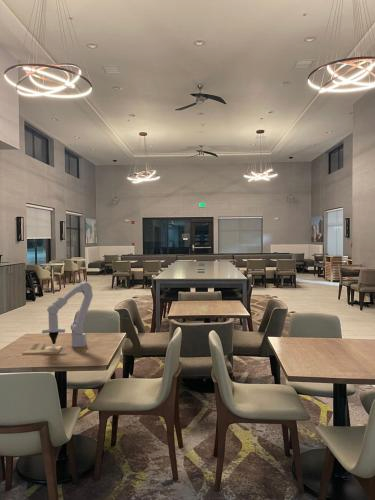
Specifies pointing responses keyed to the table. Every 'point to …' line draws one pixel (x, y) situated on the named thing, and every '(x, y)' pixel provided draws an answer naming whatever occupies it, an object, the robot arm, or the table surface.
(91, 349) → the table surface
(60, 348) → the plank
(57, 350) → the floor base
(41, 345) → the plank
